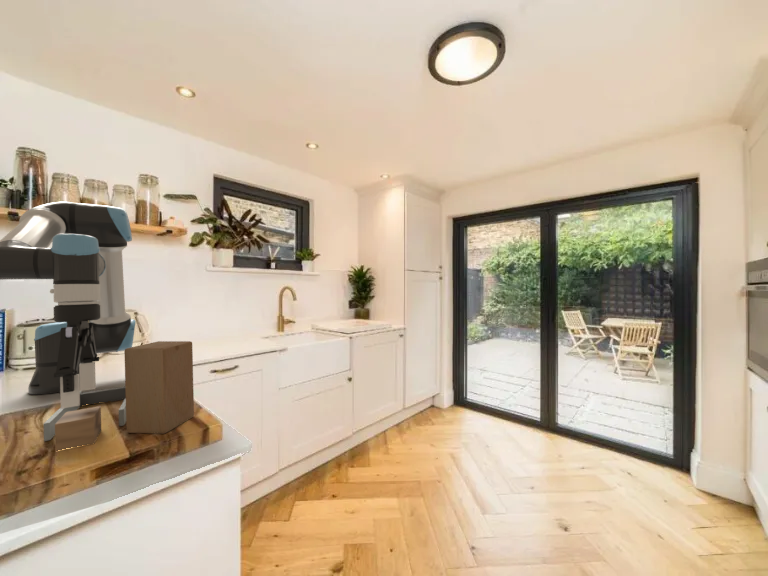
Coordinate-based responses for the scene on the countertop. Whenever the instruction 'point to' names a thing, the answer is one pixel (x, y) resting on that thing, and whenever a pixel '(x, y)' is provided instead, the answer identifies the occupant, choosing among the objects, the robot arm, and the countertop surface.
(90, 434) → the walnut block
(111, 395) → the grey u-shaped frame
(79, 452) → the countertop surface
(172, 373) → the wooden block
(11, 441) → the countertop surface
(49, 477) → the countertop surface
